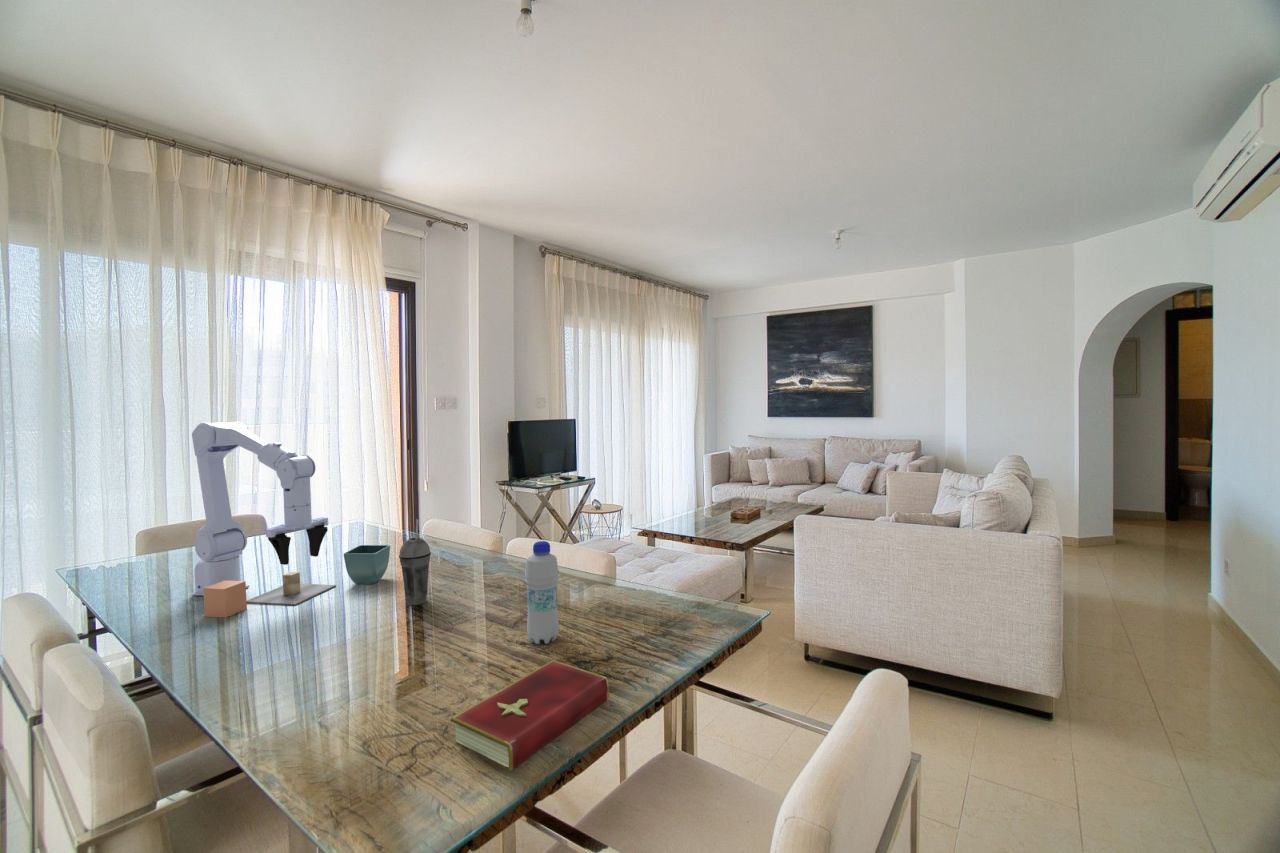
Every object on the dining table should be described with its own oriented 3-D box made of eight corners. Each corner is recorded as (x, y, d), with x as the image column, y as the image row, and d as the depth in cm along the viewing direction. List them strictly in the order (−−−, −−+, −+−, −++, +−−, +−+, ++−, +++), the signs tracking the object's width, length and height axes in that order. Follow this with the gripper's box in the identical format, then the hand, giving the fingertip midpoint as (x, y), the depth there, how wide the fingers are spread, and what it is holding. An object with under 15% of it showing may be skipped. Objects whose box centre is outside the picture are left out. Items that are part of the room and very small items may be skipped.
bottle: (565, 635, 115) (563, 538, 114) (550, 648, 109) (548, 546, 108) (537, 631, 117) (534, 536, 116) (519, 644, 111) (517, 544, 110)
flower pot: (376, 586, 148) (375, 553, 147) (343, 587, 148) (342, 553, 148) (392, 576, 156) (391, 544, 156) (360, 576, 157) (359, 544, 156)
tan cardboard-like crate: (204, 616, 128) (203, 588, 128) (226, 607, 134) (225, 580, 134) (225, 617, 127) (224, 589, 127) (246, 608, 133) (245, 581, 133)
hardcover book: (609, 701, 90) (608, 676, 90) (511, 775, 72) (510, 743, 72) (553, 682, 96) (553, 658, 96) (451, 745, 79) (450, 716, 79)
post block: (244, 603, 137) (243, 581, 137) (289, 584, 151) (288, 564, 150) (295, 605, 134) (294, 583, 134) (335, 586, 148) (335, 566, 148)
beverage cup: (393, 605, 134) (390, 522, 133) (416, 595, 141) (413, 516, 140) (417, 608, 131) (414, 524, 130) (439, 598, 138) (436, 518, 137)
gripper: (278, 511, 130) (280, 569, 130) (335, 501, 143) (337, 554, 144) (259, 509, 133) (261, 566, 133) (317, 499, 146) (319, 551, 146)
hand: (299, 559), depth 139 cm, fingers open, 7 cm apart
